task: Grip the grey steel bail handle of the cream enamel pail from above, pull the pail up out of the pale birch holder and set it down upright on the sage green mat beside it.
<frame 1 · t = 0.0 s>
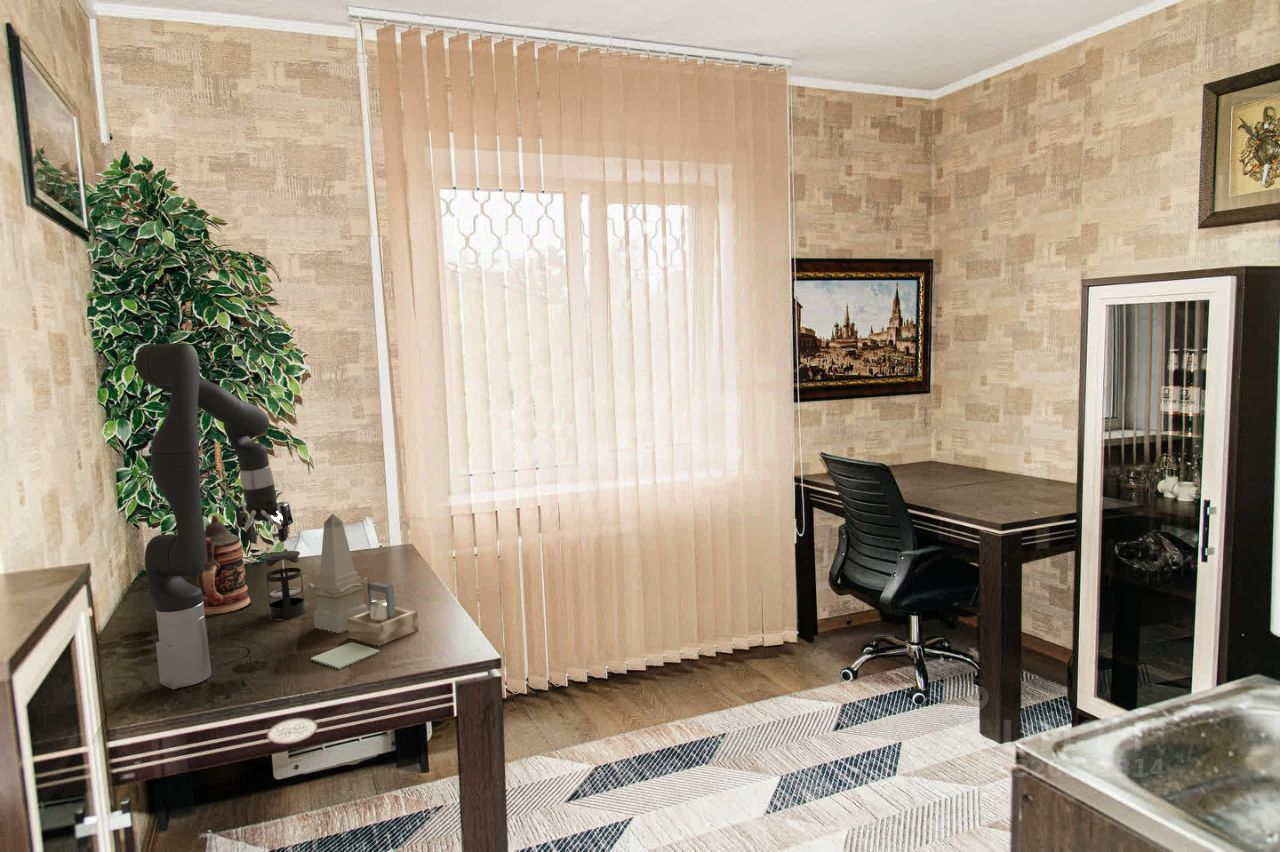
hand: (268, 541, 211), 22 cm above the table, tool pointing down, fingers open, 8 cm apart
holder: (384, 634, 201), on the table
french press: (287, 614, 220), on the table
pail: (382, 609, 200), in the holder
mat: (345, 656, 187), on the table
beer stein: (221, 609, 227), on the table
miniature monument: (342, 625, 209), on the table
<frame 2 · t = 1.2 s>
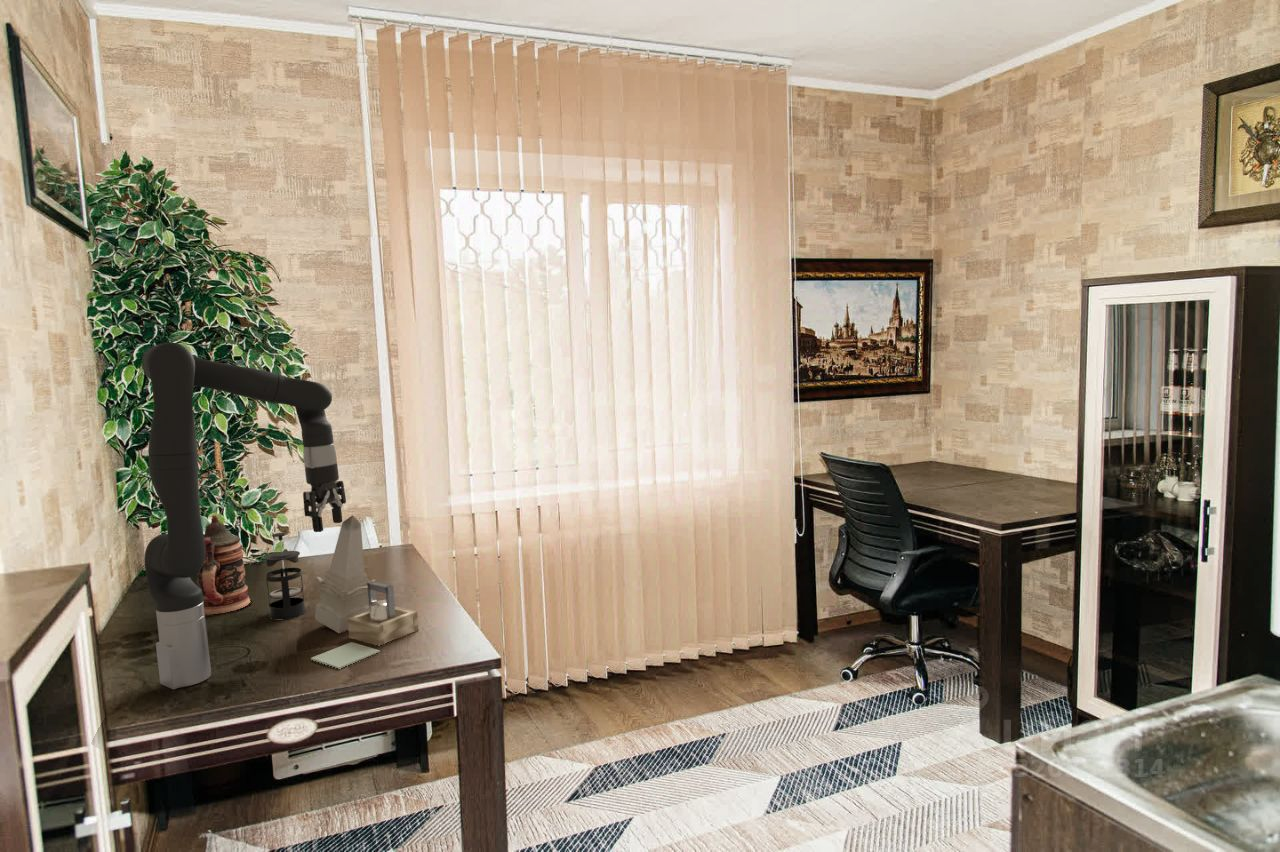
hand: (328, 527, 197), 28 cm above the table, tool pointing down, fingers open, 8 cm apart
miniature monument: (342, 621, 209), point 1 cm above the table
everything else where it was.
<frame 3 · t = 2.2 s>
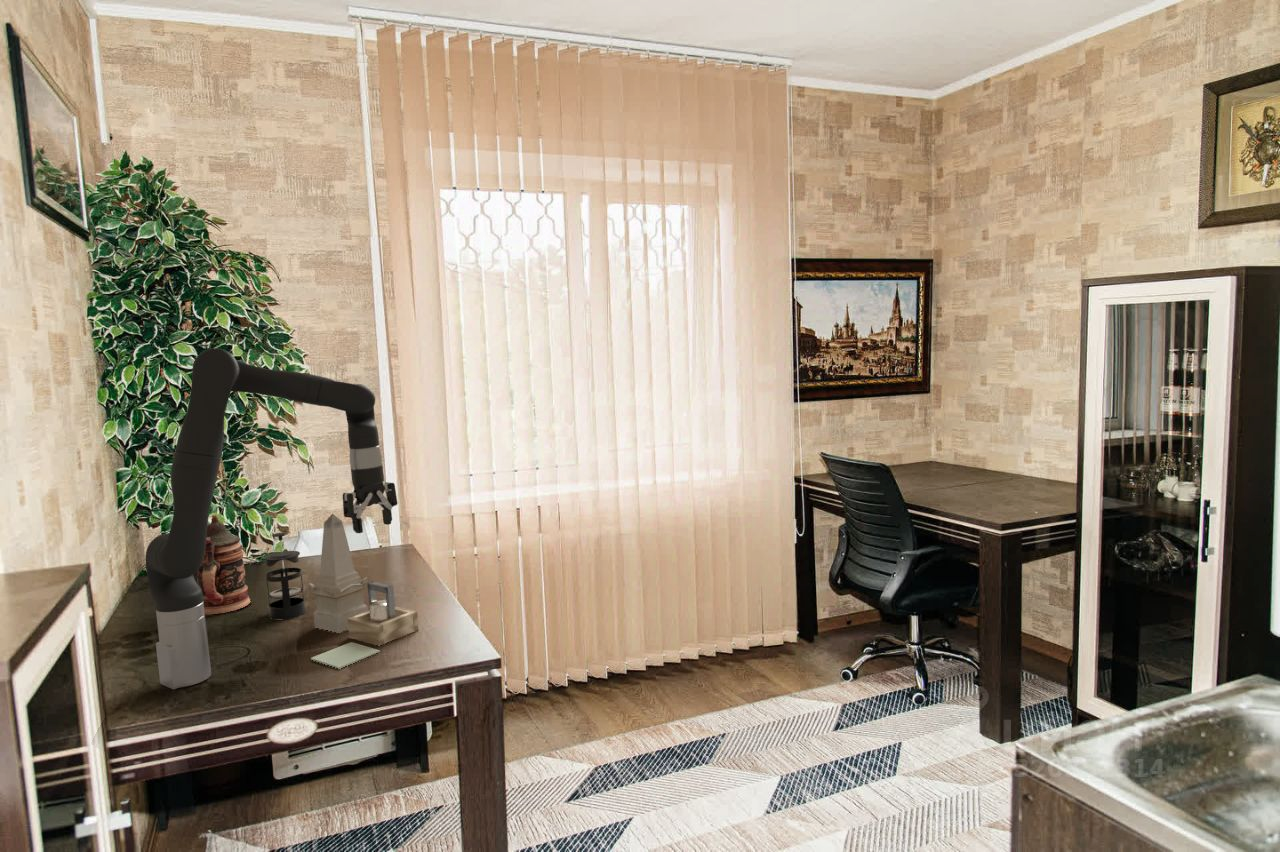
hand: (373, 528, 198), 27 cm above the table, tool pointing down, fingers open, 8 cm apart
miniature monument: (342, 625, 209), on the table
everything else where it was.
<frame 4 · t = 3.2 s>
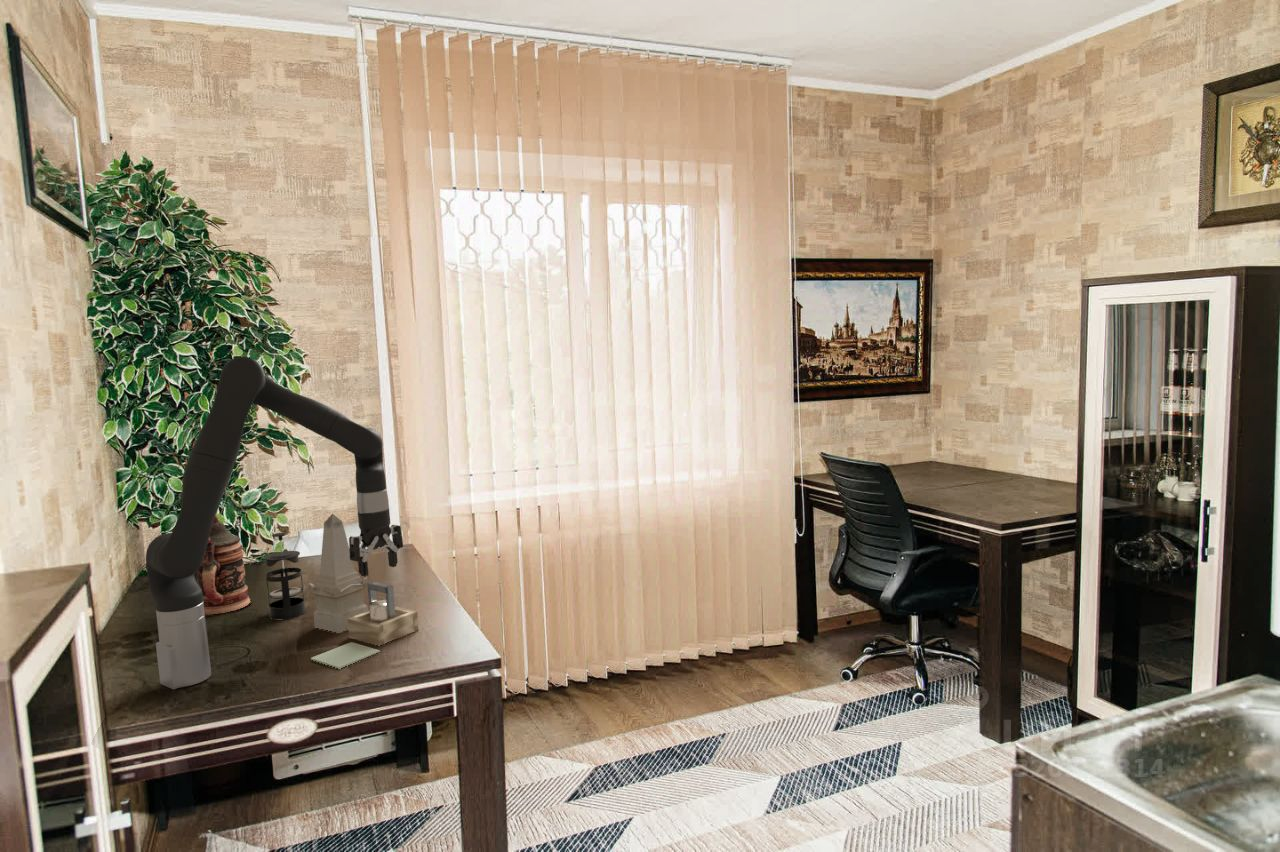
hand: (378, 571, 199), 16 cm above the table, tool pointing down, fingers open, 8 cm apart
nothing on the table moved.
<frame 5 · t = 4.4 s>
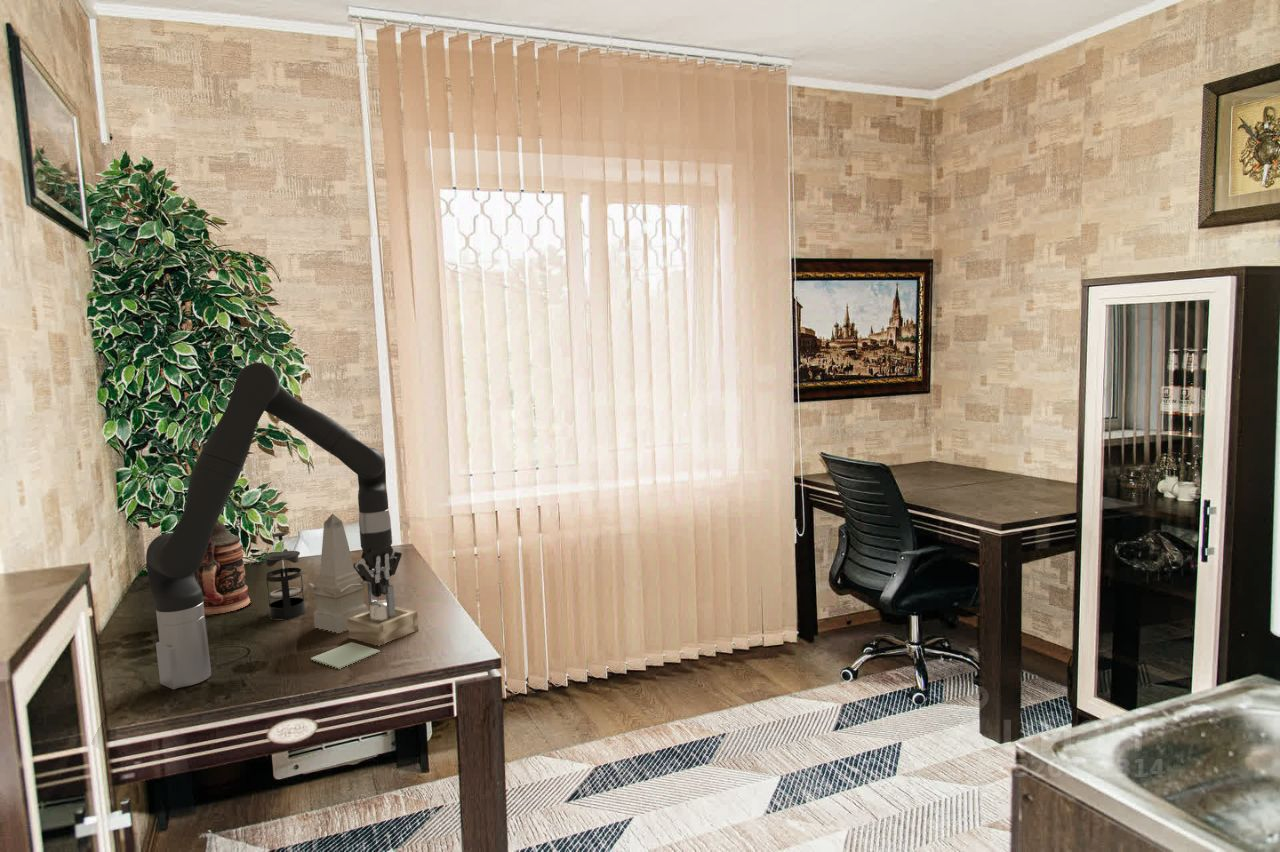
hand: (380, 594, 200), 10 cm above the table, tool pointing down, fingers closed on pail
pail: (382, 609, 200), in the holder, touching gripper
everything else where it was.
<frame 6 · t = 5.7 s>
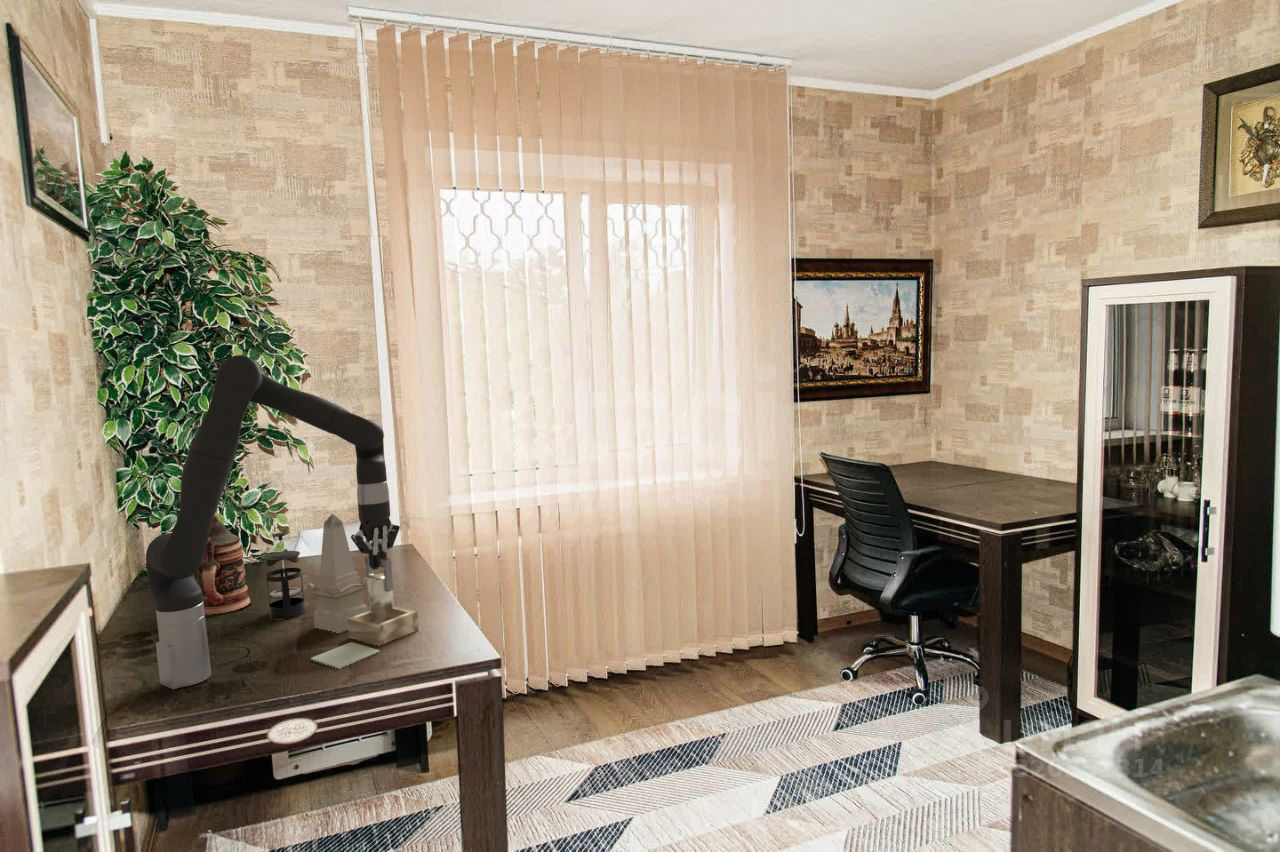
hand: (378, 567, 199), 17 cm above the table, tool pointing down, fingers closed on pail
pail: (379, 582, 199), point 13 cm above the table, touching gripper
everything else where it was.
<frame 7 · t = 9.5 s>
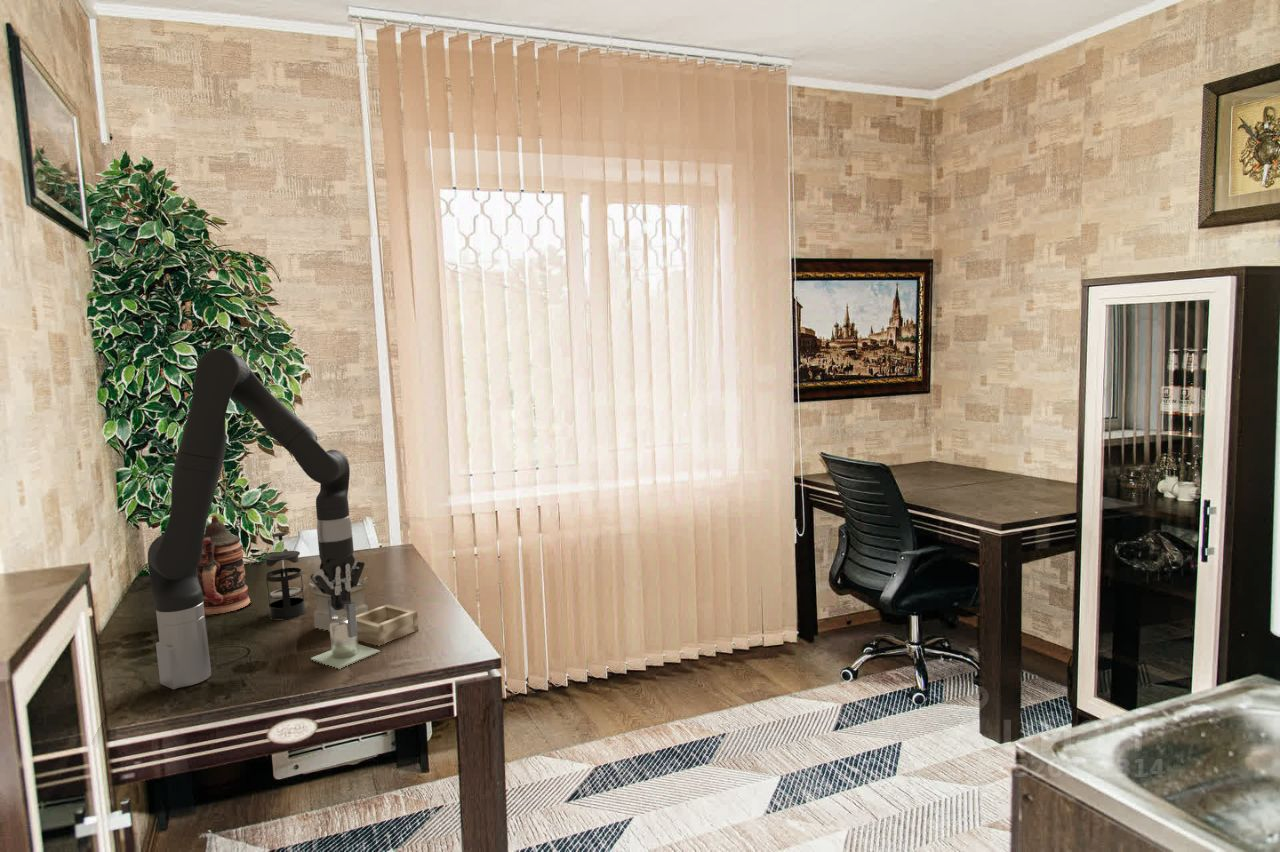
hand: (341, 607, 186), 12 cm above the table, tool pointing down, fingers closed on pail
pail: (343, 627, 187), on the mat, point 7 cm above the table, touching gripper
everything else where it was.
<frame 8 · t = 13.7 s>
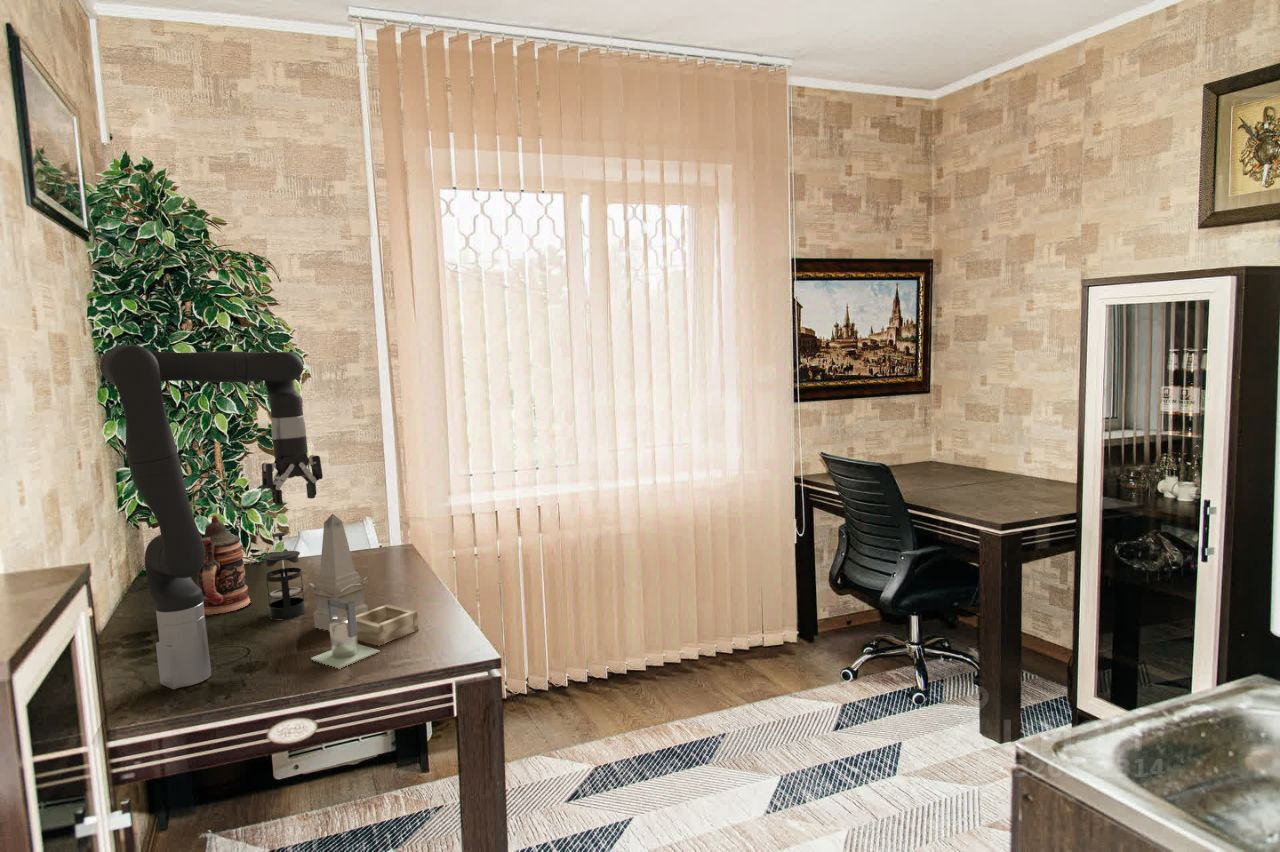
hand: (295, 501, 192), 36 cm above the table, tool pointing down, fingers open, 8 cm apart
pail: (343, 627, 187), on the mat, point 7 cm above the table
everything else where it was.
at the end: pail 0.2 cm off-centre on the mat, point 7.1 cm above the mat's base; pail tilted 0°; the gripper is holding nothing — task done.
